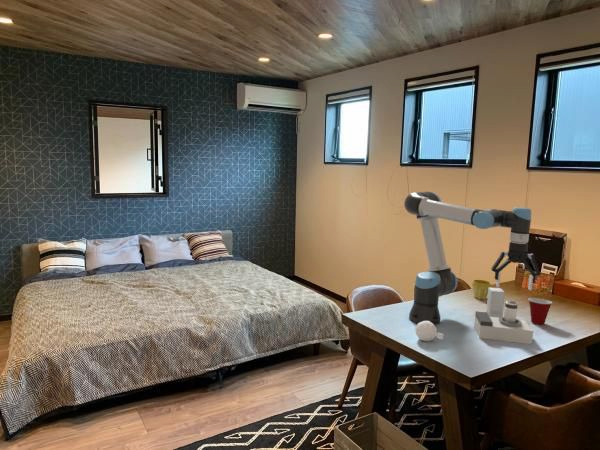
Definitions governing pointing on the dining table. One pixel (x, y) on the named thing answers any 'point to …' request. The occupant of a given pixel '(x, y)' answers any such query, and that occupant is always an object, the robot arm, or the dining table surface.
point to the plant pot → (480, 288)
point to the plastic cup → (539, 310)
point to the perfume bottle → (427, 331)
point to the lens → (510, 311)
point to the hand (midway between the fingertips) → (513, 288)
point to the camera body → (502, 329)
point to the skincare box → (495, 302)
